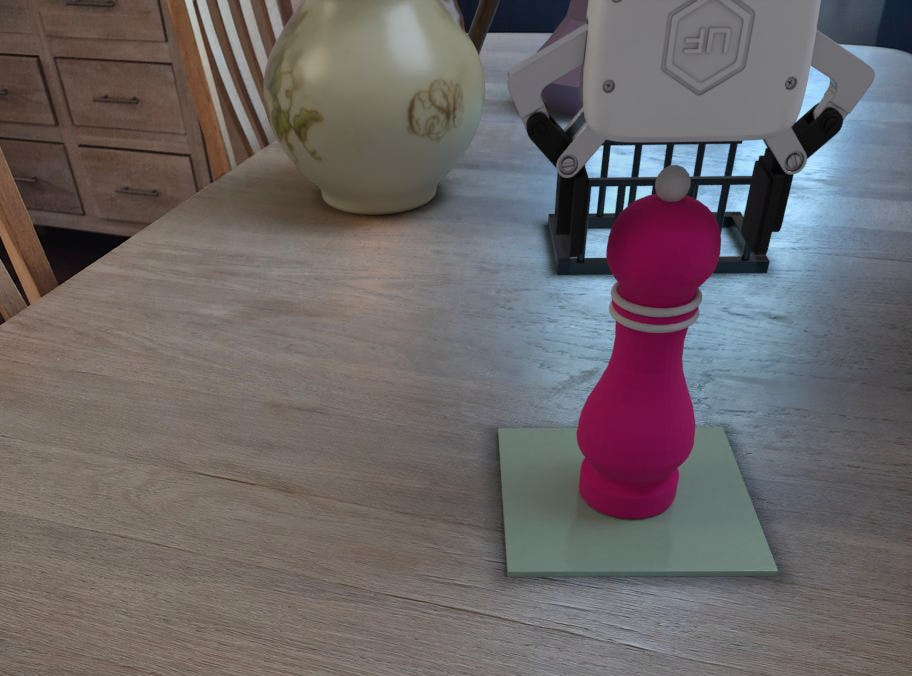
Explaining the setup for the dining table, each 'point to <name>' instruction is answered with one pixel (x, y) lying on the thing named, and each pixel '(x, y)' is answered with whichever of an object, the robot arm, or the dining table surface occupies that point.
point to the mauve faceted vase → (566, 89)
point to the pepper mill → (648, 352)
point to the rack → (606, 220)
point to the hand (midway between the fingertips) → (662, 246)
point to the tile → (617, 539)
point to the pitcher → (377, 97)
